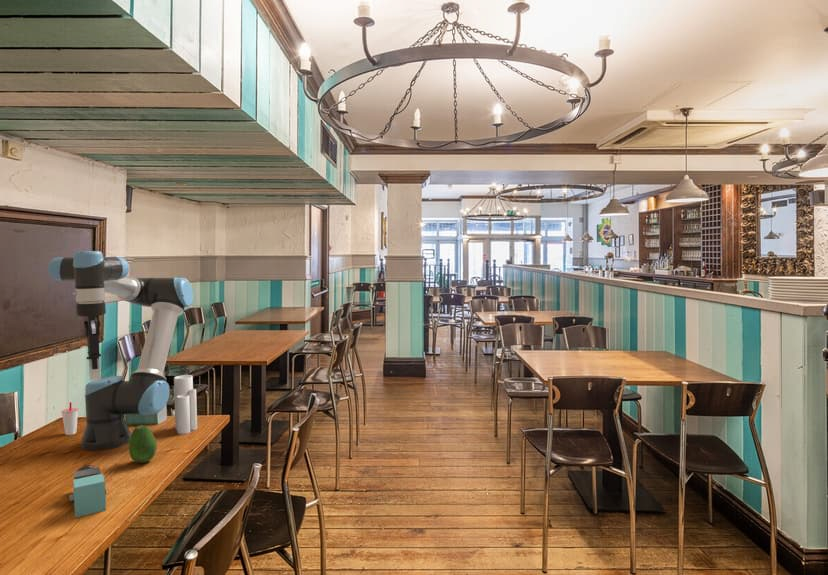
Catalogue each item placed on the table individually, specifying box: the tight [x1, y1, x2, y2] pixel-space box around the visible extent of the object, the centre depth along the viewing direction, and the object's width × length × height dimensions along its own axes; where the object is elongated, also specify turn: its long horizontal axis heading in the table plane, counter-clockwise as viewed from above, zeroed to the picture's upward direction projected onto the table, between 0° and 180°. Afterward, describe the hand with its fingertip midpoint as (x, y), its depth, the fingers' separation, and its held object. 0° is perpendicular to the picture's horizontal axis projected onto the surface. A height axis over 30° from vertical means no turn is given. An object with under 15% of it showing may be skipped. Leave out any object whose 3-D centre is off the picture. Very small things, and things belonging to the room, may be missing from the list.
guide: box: [68, 466, 107, 504], centre depth 139 cm, size 4×8×7 cm, turn 126°
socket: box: [72, 473, 107, 519], centre depth 132 cm, size 6×7×8 cm
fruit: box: [128, 424, 158, 464], centre depth 163 cm, size 8×8×12 cm
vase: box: [173, 374, 198, 435], centre depth 195 cm, size 11×7×20 cm, turn 33°
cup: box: [61, 401, 79, 436], centre depth 191 cm, size 5×5×12 cm
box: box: [124, 404, 168, 425], centre depth 205 cm, size 7×14×8 cm, turn 88°
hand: (95, 378), depth 155 cm, fingers closed
